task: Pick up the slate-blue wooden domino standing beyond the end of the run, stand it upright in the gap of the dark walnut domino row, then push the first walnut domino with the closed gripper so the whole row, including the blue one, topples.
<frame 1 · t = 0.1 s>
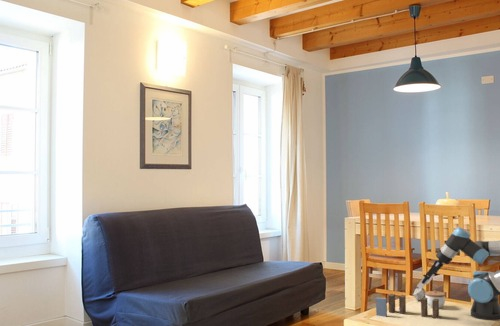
hand: (422, 285, 270), 15 cm above the table, tool tilted 35°, fingers open, 13 cm apart
domino 4: (402, 312, 274), on the table
domino 1: (435, 317, 265), on the table
game die: (420, 301, 301), on the table
domino 2: (424, 315, 268), on the table
domino 5: (392, 311, 277), on the table
lidded jar: (435, 307, 286), on the table
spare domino: (381, 315, 269), on the table
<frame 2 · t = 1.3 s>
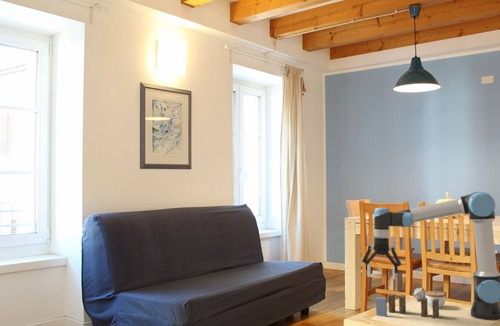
hand: (381, 277, 270), 20 cm above the table, tool pointing down, fingers open, 13 cm apart
nothing on the table moved.
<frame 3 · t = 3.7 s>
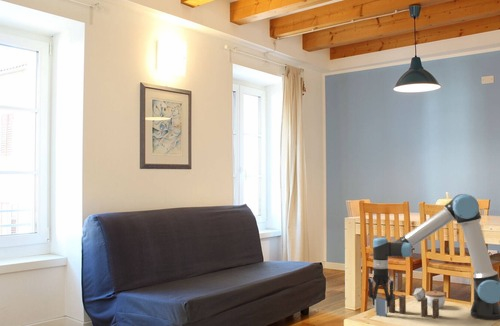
hand: (381, 312, 269), 2 cm above the table, tool pointing down, fingers closed on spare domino, 5 cm apart
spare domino: (381, 315, 269), on the table, touching gripper
everything else where it was.
when the fingers open (3 cm above the table, at t = 9.2 s): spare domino stays where it is, on the table.
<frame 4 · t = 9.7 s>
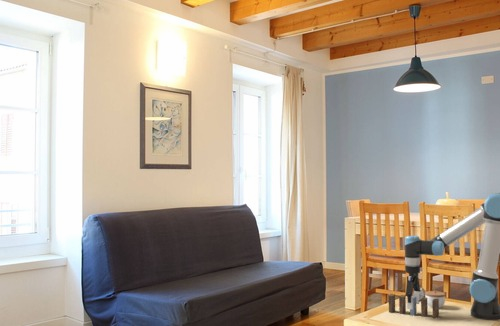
hand: (413, 306, 271), 4 cm above the table, tool pointing down, fingers open, 12 cm apart
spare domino: (413, 314, 271), on the table
everything else where it was.
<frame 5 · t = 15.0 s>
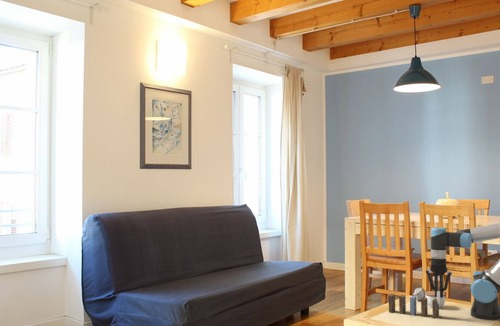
hand: (439, 303, 264), 7 cm above the table, tool pointing down, fingers closed
domino 1: (435, 317, 265), on the table, touching gripper
everything else where it was.
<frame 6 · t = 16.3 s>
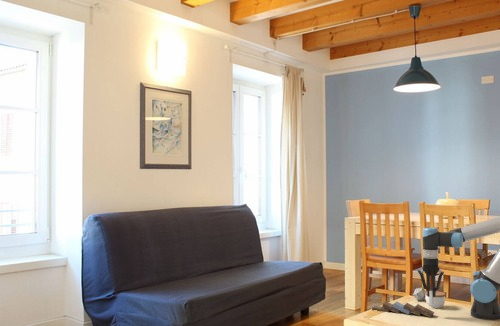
hand: (431, 303, 266), 7 cm above the table, tool pointing down, fingers closed
domino 4: (400, 310, 275), point 1 cm above the table, tilted 75°
domino 1: (432, 314, 266), point 1 cm above the table, tilted 69°, touching domino 2
domino 2: (421, 313, 269), point 1 cm above the table, tilted 69°, touching domino 1, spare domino
domino 5: (389, 310, 278), on the table, tilted 90°
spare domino: (410, 312, 272), point 1 cm above the table, tilted 69°, touching domino 2
everything else where it was.
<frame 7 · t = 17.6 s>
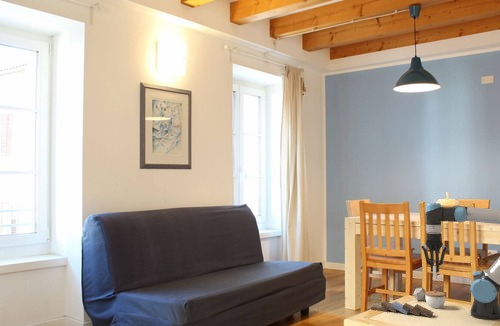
hand: (435, 278, 266), 20 cm above the table, tool pointing down, fingers closed
domino 4: (398, 310, 276), point 1 cm above the table, tilted 75°, touching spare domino
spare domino: (408, 312, 272), point 1 cm above the table, tilted 69°, touching domino 2, domino 4
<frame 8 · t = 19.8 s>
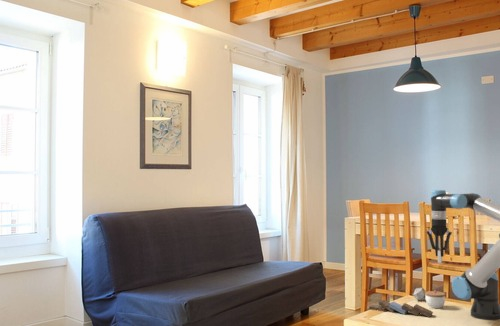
hand: (439, 262, 276), 26 cm above the table, tool pointing down, fingers closed
domino 4: (395, 309, 276), point 1 cm above the table, tilted 72°, touching domino 5
domino 5: (386, 309, 279), point 1 cm above the table, tilted 90°, touching domino 4
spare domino: (406, 311, 272), point 1 cm above the table, tilted 71°, touching domino 2
at the end: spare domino inside the target area (1.3 cm from its centre), point 0.9 cm above the table; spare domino tilted 71°; domino 5 tilted 90° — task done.
